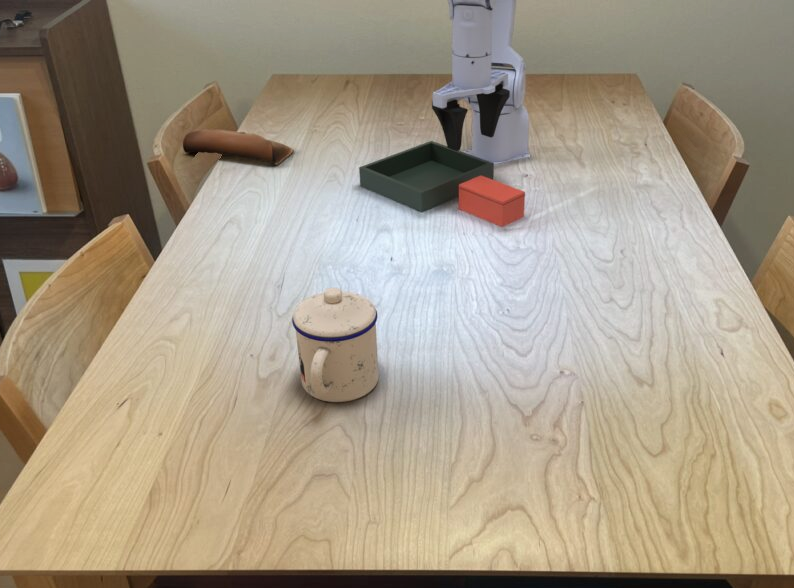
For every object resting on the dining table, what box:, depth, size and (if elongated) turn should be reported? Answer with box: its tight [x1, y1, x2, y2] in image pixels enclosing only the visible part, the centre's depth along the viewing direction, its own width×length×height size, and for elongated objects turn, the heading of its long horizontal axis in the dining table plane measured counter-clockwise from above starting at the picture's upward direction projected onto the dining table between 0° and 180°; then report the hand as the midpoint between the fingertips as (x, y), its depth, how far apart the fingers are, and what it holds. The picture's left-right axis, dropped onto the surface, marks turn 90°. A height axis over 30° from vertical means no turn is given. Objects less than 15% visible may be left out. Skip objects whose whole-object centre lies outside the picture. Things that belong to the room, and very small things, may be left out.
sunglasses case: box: [182, 128, 294, 166], centre depth 155 cm, size 18×7×7 cm
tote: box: [358, 140, 495, 213], centre depth 143 cm, size 16×14×4 cm
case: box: [458, 175, 526, 228], centre depth 133 cm, size 5×9×4 cm, turn 46°
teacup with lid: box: [291, 287, 380, 403], centre depth 95 cm, size 12×9×12 cm
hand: (470, 142), depth 135 cm, fingers open, 7 cm apart
